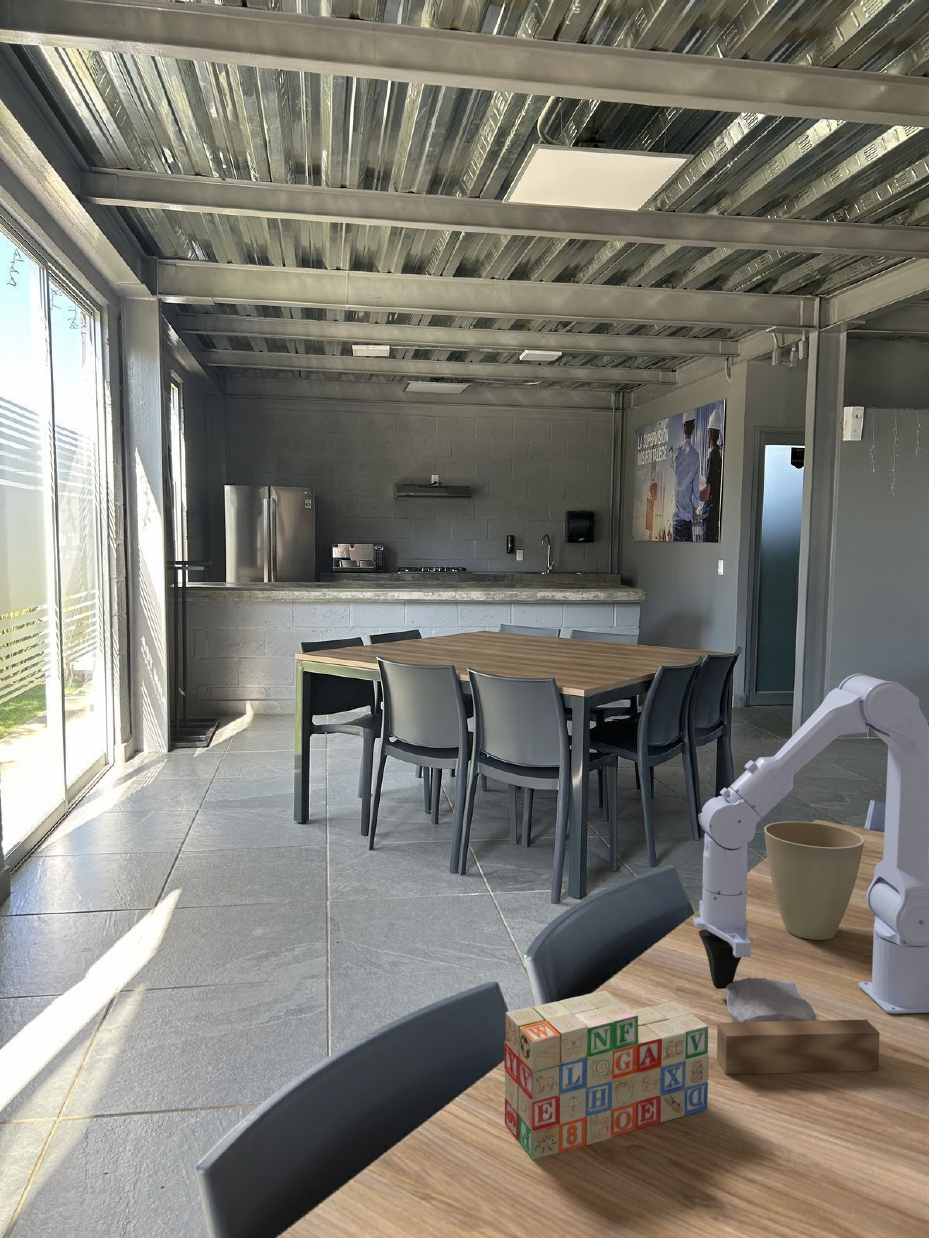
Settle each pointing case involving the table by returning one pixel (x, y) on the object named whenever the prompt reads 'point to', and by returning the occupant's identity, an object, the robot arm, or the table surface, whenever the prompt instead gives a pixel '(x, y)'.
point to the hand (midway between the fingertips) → (722, 986)
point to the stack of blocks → (599, 1070)
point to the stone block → (766, 1001)
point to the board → (797, 1046)
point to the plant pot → (812, 874)
